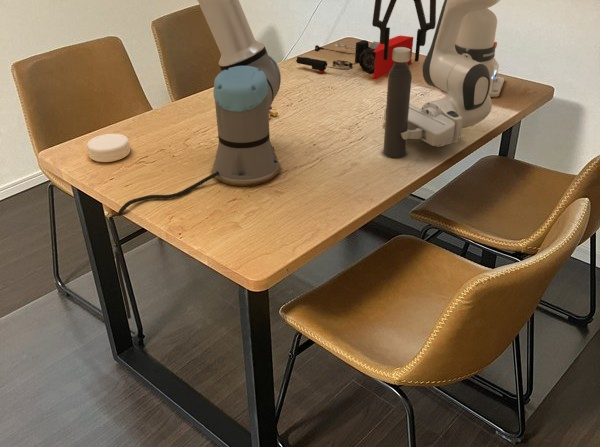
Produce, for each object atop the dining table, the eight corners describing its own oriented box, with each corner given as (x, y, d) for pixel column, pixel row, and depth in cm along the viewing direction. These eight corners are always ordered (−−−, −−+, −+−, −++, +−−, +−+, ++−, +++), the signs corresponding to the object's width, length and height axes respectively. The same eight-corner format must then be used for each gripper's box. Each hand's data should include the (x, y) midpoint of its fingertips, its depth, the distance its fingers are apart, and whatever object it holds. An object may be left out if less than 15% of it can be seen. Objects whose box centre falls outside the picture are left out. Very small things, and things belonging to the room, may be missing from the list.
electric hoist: (295, 37, 203) (374, 52, 188) (338, 23, 222) (414, 35, 207) (294, 67, 208) (372, 84, 193) (337, 51, 227) (411, 65, 212)
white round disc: (100, 166, 148) (97, 153, 146) (82, 153, 155) (79, 140, 153) (137, 154, 154) (135, 141, 152) (119, 141, 160) (116, 129, 158)
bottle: (408, 155, 152) (417, 54, 138) (388, 159, 150) (396, 56, 137) (399, 147, 156) (407, 47, 142) (379, 150, 154) (385, 49, 141)
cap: (401, 55, 143) (402, 46, 142) (413, 60, 140) (414, 50, 139) (388, 59, 141) (389, 49, 140) (400, 63, 138) (401, 53, 137)
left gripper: (360, -50, 127) (356, 61, 139) (456, -48, 123) (443, 66, 135) (365, -56, 133) (361, 51, 145) (457, -54, 129) (445, 56, 142)
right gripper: (410, 94, 161) (367, 105, 155) (466, 119, 146) (422, 133, 140) (408, 116, 165) (366, 128, 158) (463, 144, 150) (419, 158, 144)
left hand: (401, 58), depth 140 cm, fingers open, 6 cm apart
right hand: (393, 130), depth 149 cm, fingers closed on bottle, 5 cm apart
